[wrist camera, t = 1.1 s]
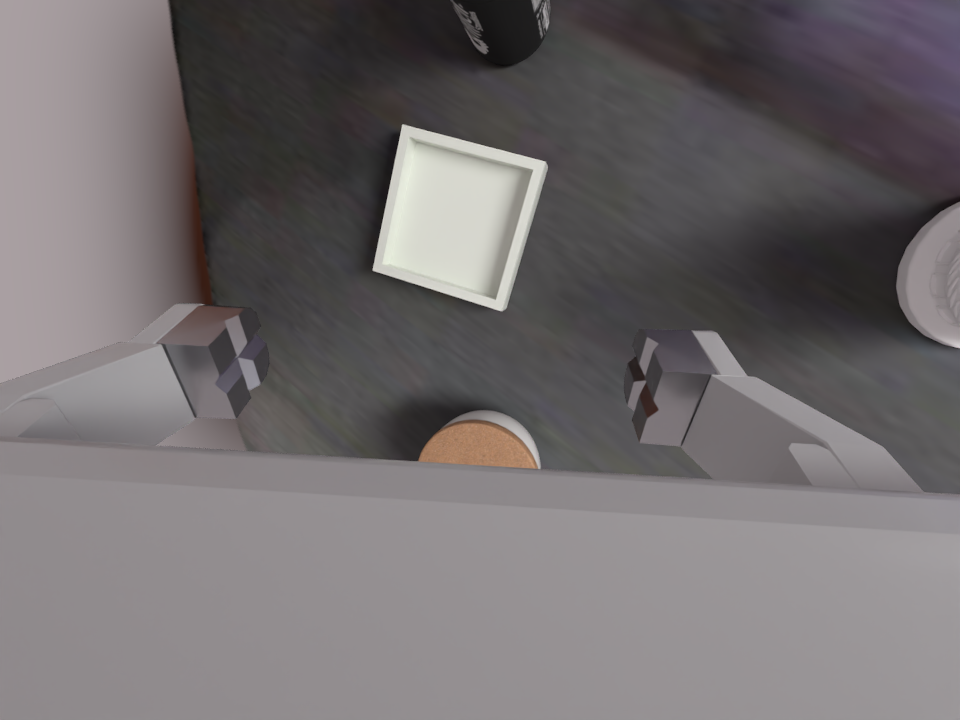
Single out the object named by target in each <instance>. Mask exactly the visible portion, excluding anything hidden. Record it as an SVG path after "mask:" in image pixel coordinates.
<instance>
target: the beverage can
mask: <svg viewBox="0 0 960 720" xmlns="http://www.w3.org/2000/svg"><path fill="white" fill-rule="evenodd" d="M450 2H451V4H452V6H453V8H454V10H455V11H456V13H457V15H458V17H459V19H460V21H461V22H462V24H463V26H464V28H465V30H466V32H467V33H468V35H469V37H470V39H471V41H472V43H473V44H474V46H475V48H476V49H477V51H478V52H479V53H480V54H481V55H482V56H483V57H484V58H485V59H487V60H488V61H490V62H492V63H495V64H499V65H511V64H515V63H519V62H521V61H523V60H525V59H526V58H528V57H529V56H530V55H532V54H533V53H534V52H535V51H536V50H537V48H538V47H539V46H540V44H541V43H542V41H543V39H544V37H545V35H546V33H547V30H548V26H549V22H550V3H549V0H450Z"/></svg>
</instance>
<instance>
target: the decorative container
mask: <svg viewBox="0 0 960 720" xmlns="http://www.w3.org/2000/svg"><path fill="white" fill-rule="evenodd" d="M896 290H897V295H898V300H899V305H900V307H901V309H902V311H903V312H904V314H905V316H906V318H907V319H908V321H909V322H910V323H911V324H912V325H913V326H914V327H915V328H916V329H917V330H919V331H920V332H921V333H922V334H923V335H925V336H927V337H929V338H931V339H933V340H935V341H937V342H939V343H941V344H944V345H948V346H952V347H956V348H960V201H959V202H958V203H956V204H954V205H952V206H950V207H948V208H946V209H945V210H943V211H941V212H939V213H938V214H937V215H936V216H935V217H934V218H932V219H931V220H930V221H929V222H928V223H927V224H925V225H924V226H923V227H922V228H921V229H920V230H919V231H918V233H917V234H916V235H915V237H914V238H913V239H912V241H911V242H910V243H909V245H908V246H907V247H906V250H905V252H904V255H903V257H902V259H901V262H900V264H899V266H898V273H897V281H896Z"/></svg>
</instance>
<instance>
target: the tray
mask: <svg viewBox="0 0 960 720" xmlns="http://www.w3.org/2000/svg"><path fill="white" fill-rule="evenodd" d="M547 169H548V166H547V164H546V162H545V161H541V160H537V159H533V158H529V157H525V156H522V155H518V154H514V153H510V152H506V151H502V150H499V149H495V148H491V147H487V146H483V145H479V144H476V143H472V142H468V141H464V140H460V139H456V138H452V137H449V136H445V135H441V134H437V133H433V132H429V131H426V130H422V129H418V128H414V127H410V126H406V125H403V124H402V129H401V134H400V139H399V143H398V148H397V153H396V158H395V163H394V168H393V173H392V178H391V182H390V187H389V192H388V197H387V202H386V207H385V212H384V217H383V222H382V226H381V231H380V236H379V241H378V246H377V251H376V256H375V261H374V265H373V270H372V271H375V272H379V273H382V274H385V275H388V276H391V277H394V278H398V279H401V280H404V281H407V282H410V283H413V284H417V285H420V286H423V287H426V288H429V289H432V290H436V291H439V292H442V293H445V294H448V295H451V296H455V297H458V298H461V299H464V300H467V301H470V302H474V303H477V304H480V305H483V306H486V307H489V308H493V309H496V310H499V311H503V310H505V309H506V308H507V305H508V302H509V298H510V295H511V291H512V288H513V285H514V281H515V278H516V274H517V271H518V268H519V264H520V261H521V258H522V254H523V251H524V247H525V244H526V241H527V237H528V234H529V230H530V227H531V224H532V220H533V217H534V213H535V210H536V207H537V203H538V200H539V197H540V193H541V190H542V186H543V183H544V180H545V176H546V173H547Z"/></svg>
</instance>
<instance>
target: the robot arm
mask: <svg viewBox="0 0 960 720" xmlns="http://www.w3.org/2000/svg"><path fill="white" fill-rule="evenodd" d="M260 327H261V324H260V321H259V318H258V316H257V313H256V312H255V311H254V310H253V309H251V308H247V307H233V306H220V305H203V304H189V303H188V304H187V303H181V304H175V305H174V306H172V307H171V308H170V309H169V310H167V311H166V312H165V313H164V314H162V315H161V316H160V317H159V318H157V319H156V320H155V321H154V322H152V323H151V324H150V325H149V326H147V327H146V328H145V329H144V330H143V331H141V332H140V333H139V334H137V335H136V336H135V337H134V338H132V339H131V340H130V341H129V342H118V343H116V344H113V345H110V346H107V347H104V348H101V349H99V350H96V351H93V352H90V353H87V354H84V355H81V356H78V357H75V358H72V359H69V360H67V361H64V362H61V363H58V364H55V365H52V366H49V367H46V368H43V369H41V370H38V371H35V372H32V373H29V374H26V375H24V376H20V377H18V378H15V379H12V380H9V381H6V382H3V383H0V720H960V494H943V493H927V492H923V491H922V490H921V489H920V487H919V486H918V485H917V484H916V483H915V482H914V481H913V480H912V478H911V477H910V476H909V475H908V474H907V473H906V472H905V471H904V470H903V468H902V467H901V466H900V465H899V464H898V463H897V462H896V461H895V460H894V458H893V457H892V456H891V455H890V454H889V453H888V452H887V451H886V450H885V448H884V447H882V446H880V445H879V444H877V443H875V442H873V441H871V440H869V439H868V438H866V437H864V436H862V435H860V434H859V433H857V432H855V431H853V430H851V429H849V428H848V427H846V426H844V425H842V424H840V423H838V422H837V421H835V420H833V419H831V418H829V417H828V416H826V415H824V414H822V413H820V412H818V411H817V410H815V409H813V408H811V407H809V406H807V405H806V404H804V403H802V402H800V401H798V400H797V399H795V398H793V397H791V396H789V395H787V394H786V393H784V392H782V391H780V390H778V389H776V388H775V387H773V386H771V385H769V384H767V383H766V382H764V381H762V380H760V379H758V378H756V377H748V376H747V375H746V374H745V372H744V371H743V369H742V368H741V366H740V365H739V364H738V362H737V361H736V359H735V358H734V356H733V355H732V353H731V352H730V351H729V349H728V348H727V346H726V345H725V343H724V342H723V341H722V339H721V338H720V336H719V335H718V333H716V332H714V331H698V330H663V329H639V330H638V332H637V333H636V335H635V338H634V342H633V345H632V347H633V349H634V352H635V355H636V357H634V358H633V359H632V360H631V361H630V362H629V363H628V364H627V368H626V372H625V377H624V394H625V399H626V402H627V405H628V406H629V407H630V408H631V409H633V410H634V415H633V418H632V422H633V425H634V428H635V431H636V434H637V437H638V440H639V443H647V444H659V445H671V446H682V449H683V450H684V451H685V452H686V453H687V454H688V455H689V456H690V457H691V458H692V459H693V460H694V461H695V462H696V463H697V464H698V465H699V466H700V467H701V468H702V469H703V470H704V471H706V472H707V473H708V474H709V475H710V476H711V477H712V478H713V479H698V478H682V477H665V476H649V475H632V474H616V473H599V472H583V471H567V470H550V469H534V468H517V467H501V466H484V465H468V464H451V463H435V462H419V461H402V460H386V459H370V458H353V457H337V456H320V455H304V454H288V453H271V452H255V451H238V450H222V449H206V448H205V449H204V448H189V447H173V446H157V444H159V443H160V442H162V441H163V440H165V439H166V438H168V437H169V436H171V435H172V434H174V433H175V432H177V431H178V430H180V429H182V428H183V427H185V426H186V425H188V424H189V423H191V422H192V421H194V420H195V418H224V419H236V418H237V417H238V416H239V414H240V413H241V411H242V410H243V409H244V407H245V406H246V404H247V403H248V402H249V400H250V399H251V396H250V393H249V390H251V389H253V388H255V387H257V386H259V385H260V384H261V383H262V382H263V380H264V379H265V377H266V375H267V371H268V367H269V352H268V348H267V345H266V343H265V342H264V341H263V340H262V339H261V338H260V337H259V336H258V335H257V333H258V331H259V329H260Z"/></svg>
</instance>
